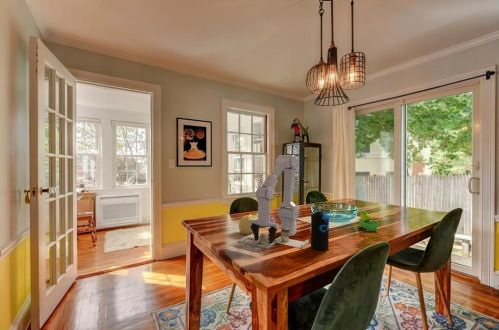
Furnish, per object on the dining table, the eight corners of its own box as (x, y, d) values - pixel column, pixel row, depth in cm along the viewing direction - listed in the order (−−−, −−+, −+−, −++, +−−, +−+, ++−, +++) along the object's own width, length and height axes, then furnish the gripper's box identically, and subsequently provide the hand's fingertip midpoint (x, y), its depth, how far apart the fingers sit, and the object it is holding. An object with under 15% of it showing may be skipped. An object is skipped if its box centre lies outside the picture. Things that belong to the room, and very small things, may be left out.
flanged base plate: (282, 240, 123) (282, 235, 123) (309, 245, 115) (309, 240, 115) (274, 245, 115) (274, 239, 115) (302, 251, 108) (302, 245, 108)
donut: (257, 221, 163) (257, 214, 163) (278, 223, 158) (278, 216, 158) (250, 226, 150) (250, 218, 150) (272, 229, 145) (272, 220, 145)
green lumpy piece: (379, 231, 141) (379, 212, 141) (364, 231, 141) (364, 212, 141) (370, 226, 152) (370, 209, 152) (356, 226, 153) (356, 208, 153)
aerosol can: (306, 251, 108) (307, 207, 108) (316, 246, 114) (316, 205, 114) (323, 256, 102) (324, 209, 102) (332, 251, 108) (333, 207, 108)
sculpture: (256, 237, 127) (256, 217, 127) (235, 235, 131) (235, 215, 131) (262, 232, 138) (262, 213, 138) (242, 229, 142) (243, 211, 142)
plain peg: (283, 239, 120) (283, 227, 120) (290, 240, 118) (290, 228, 118) (279, 241, 116) (279, 229, 116) (287, 243, 114) (287, 230, 114)
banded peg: (257, 247, 113) (258, 234, 113) (263, 245, 115) (263, 232, 115) (264, 249, 110) (264, 236, 110) (269, 247, 113) (270, 234, 113)
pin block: (247, 240, 122) (247, 236, 122) (275, 246, 114) (275, 242, 114) (237, 245, 115) (238, 240, 115) (267, 251, 107) (267, 247, 107)
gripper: (246, 212, 113) (246, 240, 113) (274, 216, 105) (273, 246, 105) (254, 209, 119) (253, 237, 119) (281, 213, 111) (280, 242, 111)
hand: (263, 241), depth 112 cm, fingers open, 7 cm apart
